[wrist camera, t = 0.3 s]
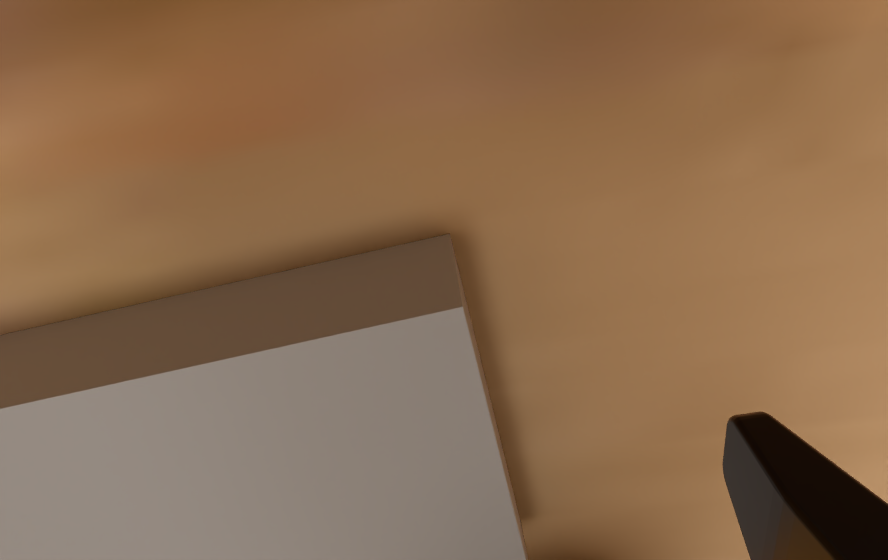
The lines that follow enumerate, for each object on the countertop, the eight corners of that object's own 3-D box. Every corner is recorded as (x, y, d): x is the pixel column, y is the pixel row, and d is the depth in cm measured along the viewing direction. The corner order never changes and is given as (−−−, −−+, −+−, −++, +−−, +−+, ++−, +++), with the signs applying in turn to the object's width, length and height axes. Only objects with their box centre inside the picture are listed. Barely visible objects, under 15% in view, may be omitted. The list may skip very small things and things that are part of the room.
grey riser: (518, 512, 34) (536, 601, 31) (87, 601, 35) (61, 698, 31) (448, 225, 26) (463, 307, 22) (-116, 352, 26) (-180, 448, 23)
